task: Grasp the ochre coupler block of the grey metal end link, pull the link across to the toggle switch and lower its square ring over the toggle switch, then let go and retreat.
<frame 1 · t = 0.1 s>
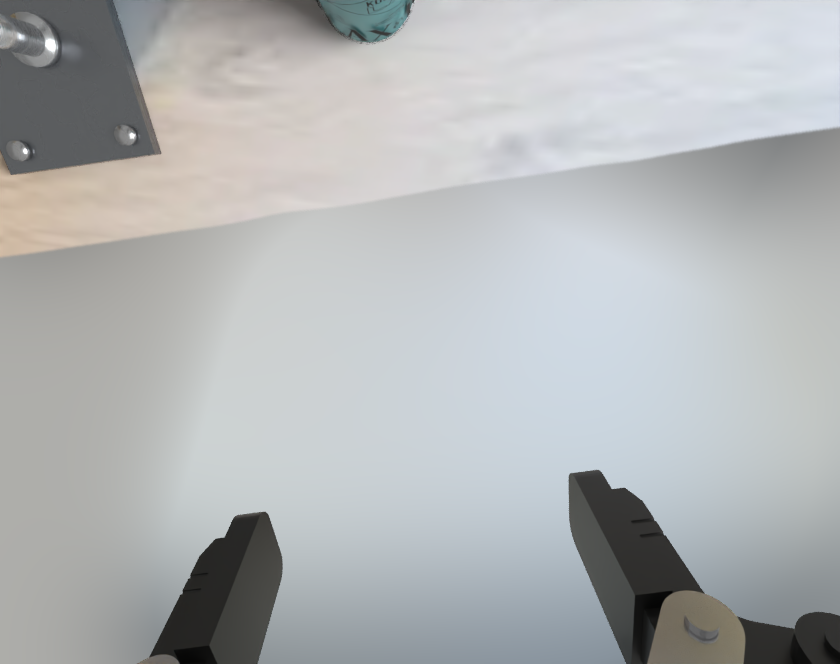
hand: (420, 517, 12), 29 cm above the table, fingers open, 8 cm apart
toggle switch: (46, 44, 33), on the table
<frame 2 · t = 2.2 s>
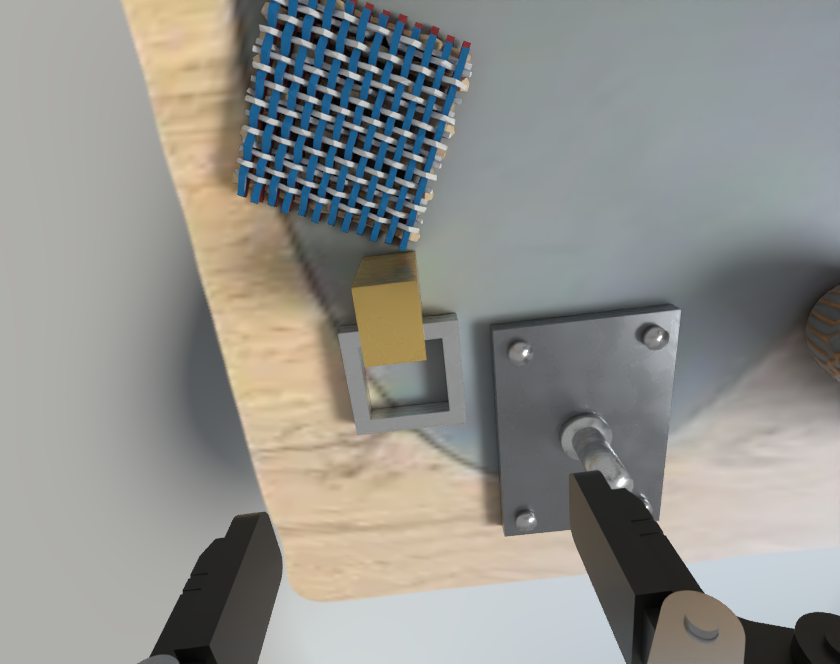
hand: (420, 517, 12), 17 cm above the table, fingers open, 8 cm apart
end link: (405, 371, 29), on the table
vase: (837, 314, 29), on the table
woven mat: (352, 123, 25), on the table
toggle switch: (578, 426, 31), on the table
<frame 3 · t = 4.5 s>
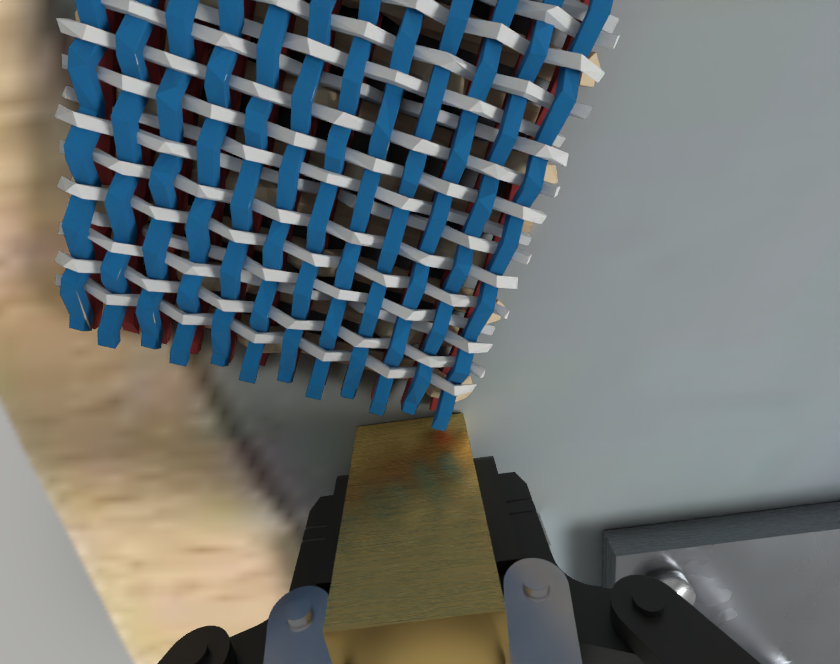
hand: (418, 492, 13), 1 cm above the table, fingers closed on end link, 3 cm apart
end link: (440, 606, 16), on the table, touching gripper
woven mat: (327, 161, 11), on the table
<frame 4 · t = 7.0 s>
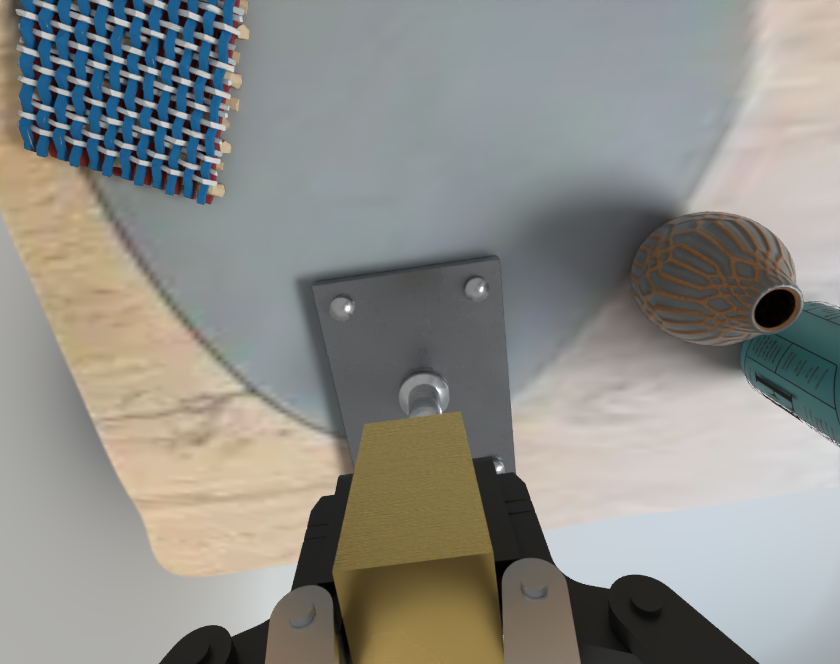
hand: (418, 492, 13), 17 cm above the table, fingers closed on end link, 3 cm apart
beverage bottle: (769, 336, 31), on the table
end link: (442, 611, 16), point 16 cm above the table, tilted 6°, touching gripper
vase: (668, 262, 29), on the table
woven mat: (144, 76, 25), on the table
toggle switch: (423, 385, 31), on the table
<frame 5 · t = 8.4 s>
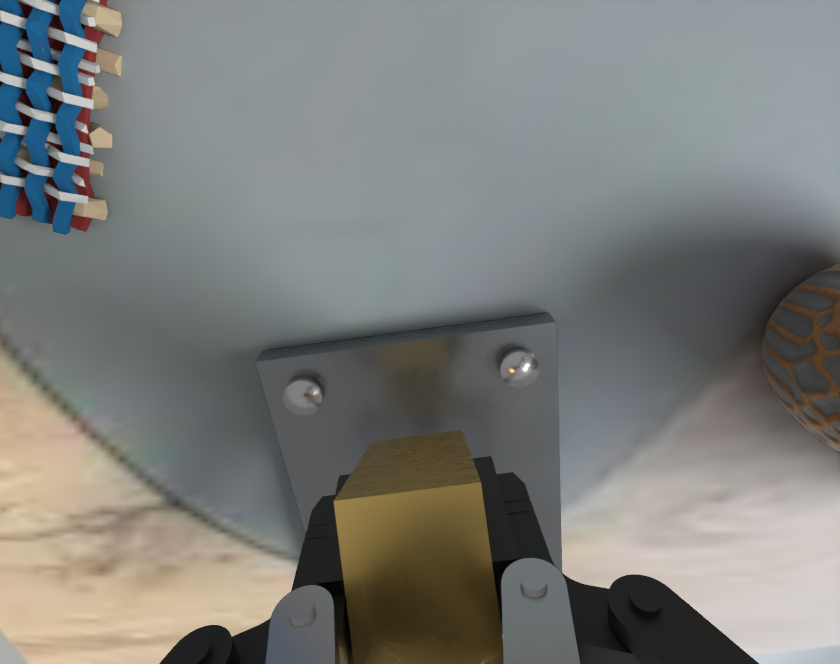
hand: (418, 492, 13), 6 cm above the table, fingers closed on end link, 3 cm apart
vase: (812, 322, 19), on the table
toggle switch: (430, 496, 21), on the table
when the fingers open (3 cm above the table, at t = 9.2 s): end link drops 2 cm, resting on toggle switch.
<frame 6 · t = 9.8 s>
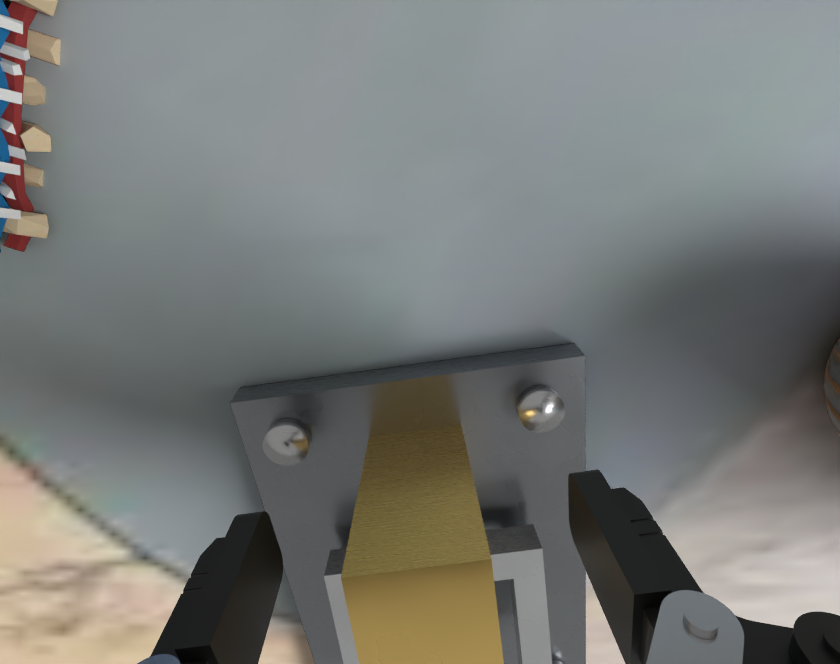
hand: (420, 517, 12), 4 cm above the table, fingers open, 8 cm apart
end link: (443, 619, 17), point 2 cm above the table, tilted 8°, touching toggle switch
toggle switch: (435, 548, 18), on the table
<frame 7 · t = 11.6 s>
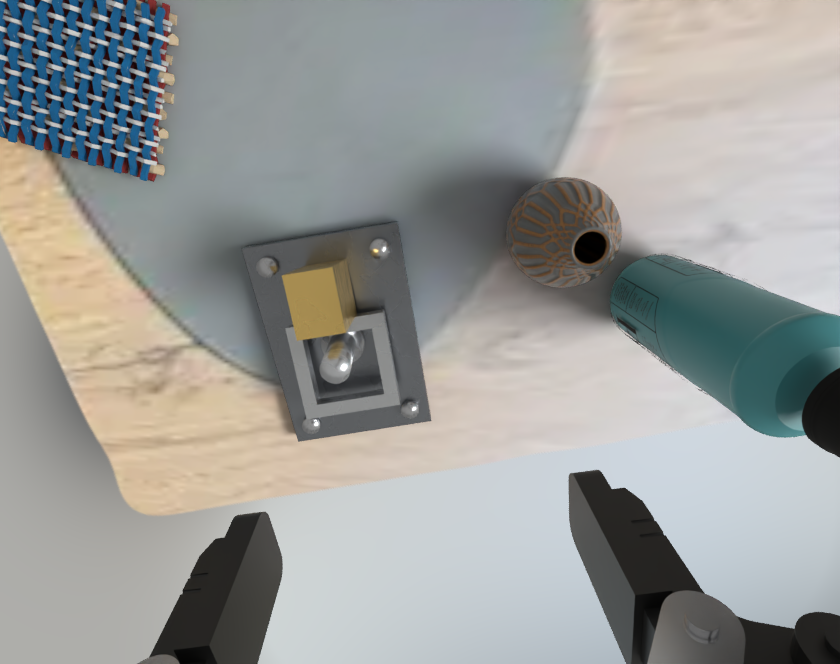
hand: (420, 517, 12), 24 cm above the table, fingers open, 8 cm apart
beverage bottle: (639, 288, 36), on the table
end link: (346, 362, 35), point 2 cm above the table, tilted 8°, touching toggle switch
vase: (544, 225, 34), on the table
woven mat: (96, 76, 30), on the table
toggle switch: (345, 336, 36), on the table
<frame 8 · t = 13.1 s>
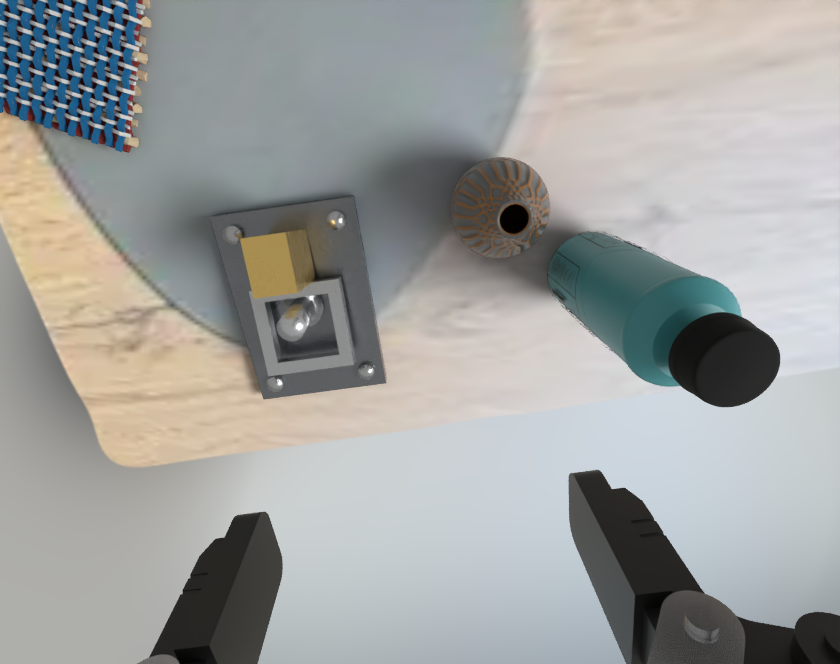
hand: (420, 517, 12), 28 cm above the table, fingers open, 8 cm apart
beverage bottle: (578, 264, 39), on the table
end link: (305, 325, 38), point 2 cm above the table, tilted 8°, touching toggle switch
vase: (489, 202, 37), on the table
woven mat: (76, 54, 33), on the table
toggle switch: (306, 302, 39), on the table
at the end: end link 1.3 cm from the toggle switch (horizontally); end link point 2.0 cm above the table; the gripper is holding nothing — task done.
